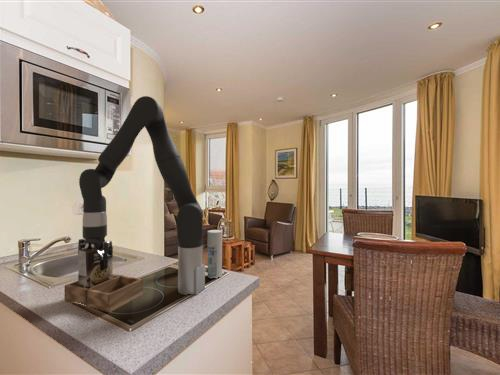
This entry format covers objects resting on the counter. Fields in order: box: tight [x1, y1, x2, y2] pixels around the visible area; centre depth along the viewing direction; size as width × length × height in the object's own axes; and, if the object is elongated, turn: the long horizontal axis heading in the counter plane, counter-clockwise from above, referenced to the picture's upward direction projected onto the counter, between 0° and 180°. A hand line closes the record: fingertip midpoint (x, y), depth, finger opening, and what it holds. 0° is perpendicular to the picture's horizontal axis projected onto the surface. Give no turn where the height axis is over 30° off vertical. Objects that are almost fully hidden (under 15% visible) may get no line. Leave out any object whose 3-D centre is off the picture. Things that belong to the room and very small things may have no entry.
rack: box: [64, 273, 144, 313], centre depth 87 cm, size 21×14×6 cm, turn 70°
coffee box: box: [77, 246, 114, 289], centre depth 88 cm, size 9×6×16 cm
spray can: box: [207, 229, 223, 279], centre depth 108 cm, size 6×6×20 cm
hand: (95, 268), depth 88 cm, fingers open, 8 cm apart
